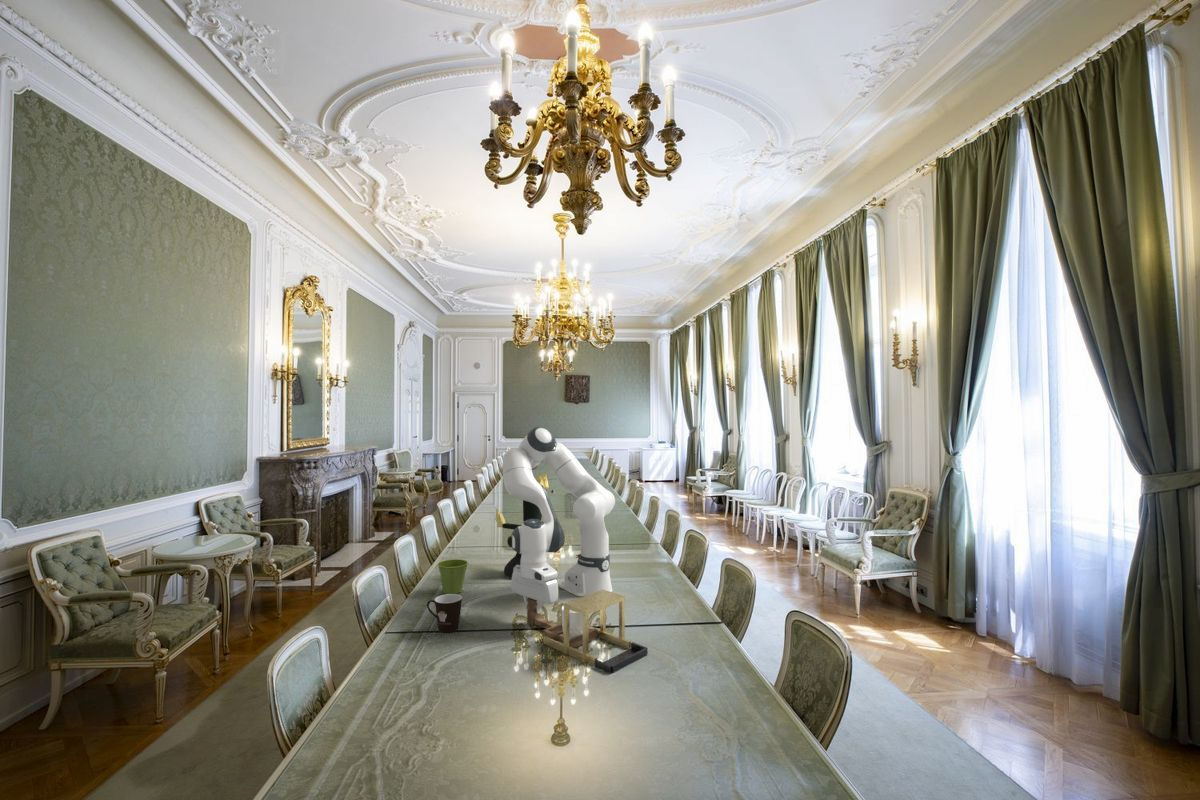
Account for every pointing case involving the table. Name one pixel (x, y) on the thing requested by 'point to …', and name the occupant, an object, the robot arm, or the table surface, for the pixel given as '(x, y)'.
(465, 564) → the plant pot
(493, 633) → the table surface
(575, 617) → the white cup
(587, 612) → the tunnel
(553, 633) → the wooden frame with handle
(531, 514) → the candelabra
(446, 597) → the coffee mug
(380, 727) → the table surface
